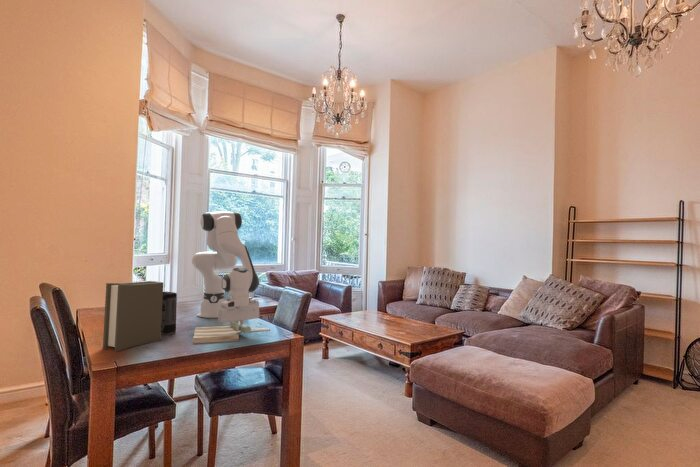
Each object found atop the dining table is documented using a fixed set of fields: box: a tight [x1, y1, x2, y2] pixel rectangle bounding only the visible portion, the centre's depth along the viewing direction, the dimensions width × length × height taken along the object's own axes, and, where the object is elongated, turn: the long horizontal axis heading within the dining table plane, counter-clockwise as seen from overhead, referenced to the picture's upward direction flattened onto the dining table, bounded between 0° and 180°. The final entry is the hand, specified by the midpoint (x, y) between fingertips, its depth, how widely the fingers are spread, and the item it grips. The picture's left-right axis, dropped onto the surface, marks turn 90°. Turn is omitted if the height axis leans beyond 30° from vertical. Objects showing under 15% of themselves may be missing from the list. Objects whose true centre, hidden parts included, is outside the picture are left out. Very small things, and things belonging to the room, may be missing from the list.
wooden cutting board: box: [192, 325, 271, 344], centre depth 188 cm, size 20×36×2 cm, turn 109°
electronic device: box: [161, 291, 178, 336], centre depth 190 cm, size 9×6×20 cm, turn 62°
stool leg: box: [229, 321, 252, 334], centre depth 190 cm, size 18×3×3 cm, turn 39°
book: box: [102, 280, 164, 353], centre depth 171 cm, size 22×9×28 cm, turn 154°
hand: (239, 329), depth 185 cm, fingers closed
